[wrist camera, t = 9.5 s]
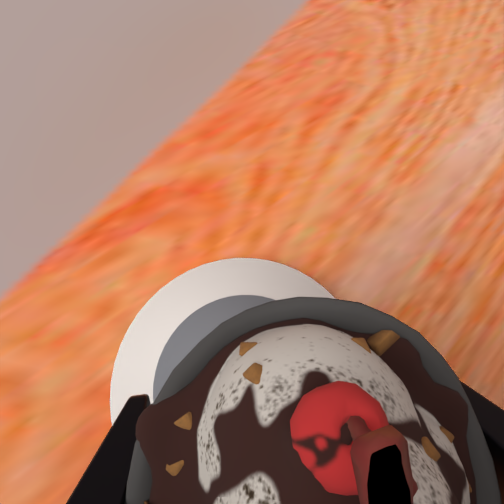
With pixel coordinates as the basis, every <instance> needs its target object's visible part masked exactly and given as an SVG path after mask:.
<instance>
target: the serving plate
mask: <svg viewBox="0 0 504 504" xmlns="http://www.w3.org/2000/svg"><path fill="white" fill-rule="evenodd" d="M293 297H323V298H332V299H335V298H334V297H333V296H332V295H331V294H330V293H329V292H328V291H327V290H326V289H325V288H324V287H323V286H321V285H320V284H319V283H317V282H316V281H315V280H313V279H312V278H310V277H309V276H307V275H305V274H303V273H302V272H300V271H298V270H296V269H293V268H291V267H288V266H286V265H284V264H280V263H277V262H273V261H269V260H263V259H256V258H232V259H224V260H219V261H215V262H211V263H207V264H204V265H201V266H199V267H196V268H194V269H191V270H189V271H187V272H185V273H184V274H182V275H180V276H178V277H176V278H175V279H173V280H172V281H171V282H169V283H168V284H167V285H165V286H164V287H162V288H161V289H160V290H159V291H158V292H157V293H156V294H155V295H154V296H153V297H152V298H151V299H150V300H149V301H148V302H147V303H146V304H145V305H144V307H143V308H142V309H141V310H140V312H139V313H138V314H137V316H136V317H135V319H134V320H133V322H132V324H131V325H130V327H129V328H128V330H127V332H126V334H125V337H124V339H123V341H122V343H121V345H120V348H119V351H118V354H117V357H116V360H115V364H114V369H113V374H112V379H111V390H110V411H111V422H112V425H113V424H114V422H115V420H116V419H117V417H118V415H119V414H120V412H121V410H122V408H123V407H124V405H125V403H126V402H127V400H128V399H129V397H131V396H133V395H141V394H147V395H148V396H149V398H150V403H151V404H152V403H154V401H155V399H156V397H157V396H158V394H159V392H160V391H161V389H162V387H163V386H164V384H165V382H166V381H167V379H168V377H169V376H170V374H171V372H172V371H173V369H174V368H175V367H176V366H177V365H178V364H179V363H180V362H181V361H182V360H183V359H184V358H185V357H186V355H187V354H188V353H189V352H190V351H191V350H192V349H193V348H194V347H195V346H196V345H197V344H198V343H199V342H200V341H201V340H202V339H203V338H205V337H206V336H207V335H208V334H209V333H210V332H212V331H213V330H214V329H215V328H216V327H217V326H219V325H220V324H221V323H222V322H224V321H226V320H228V319H230V318H232V317H233V316H235V315H237V314H239V313H241V312H243V311H245V310H246V309H249V308H252V307H255V306H258V305H261V304H264V303H267V302H270V301H275V300H281V299H287V298H293Z"/></svg>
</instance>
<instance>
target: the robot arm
mask: <svg viewBox="0 0 504 504" xmlns="http://www.w3.org/2000/svg"><path fill="white" fill-rule="evenodd" d="M459 381H460V380H459ZM460 383H461V385H462V387H463V389H464V391H465V393H466V395H467V397H468V399H469V401H470V403H471V405H472V408H473V410H474V412H475V415H476V417H477V419H478V422H479V424H480V426H481V429H482V431H483V434H484V437H485V439H486V442H487V445H488V447H489V450H490V453H491V455H492V458H493V461H494V466H495V470H496V475H497V479H498V484H499V488H500V493H501V501H502V504H504V410H502V409H501V408H500V407H498V406H497V405H495V404H494V403H492V402H491V401H489V400H488V399H486V398H485V397H483V396H482V395H480V394H479V393H477V392H476V391H474V390H473V389H471V388H470V387H469V386H467V385H466V384H464V383H463V382H461V381H460ZM149 405H151V403H150V398H149V396H148V395H147V394H141V395H133V396H131V397H129V399H128V400H127V402H126V403H125V405H124V407H123V408H122V410H121V412H120V414H119V415H118V417H117V419H116V420H115V422H114V424H113V425H112V427H111V429H110V430H109V432H108V434H107V435H106V437H105V439H104V440H103V442H102V444H101V446H100V447H99V449H98V451H97V452H96V454H95V456H94V457H93V459H92V461H91V462H90V464H89V466H88V467H87V469H86V471H85V472H84V474H83V476H82V478H81V479H80V481H79V483H78V484H77V486H76V488H75V489H74V491H73V493H72V494H71V496H70V498H69V499H68V501H67V503H66V504H126V488H127V480H128V475H129V470H130V465H131V460H132V455H133V450H134V445H135V442H136V440H137V439H136V435H135V433H136V424H137V421H138V418H139V416H140V415H141V413H142V412H143V410H144V409H146V408H147V407H148V406H149Z"/></svg>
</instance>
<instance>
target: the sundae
mask: <svg viewBox="0 0 504 504" xmlns="http://www.w3.org/2000/svg"><path fill="white" fill-rule="evenodd" d="M135 435H136V439H137V440H136V442H135V445H134V450H133V455H132V460H131V465H130V470H129V475H128V480H127V488H126V504H502V501H501V493H500V488H499V484H498V479H497V475H496V470H495V466H494V461H493V458H492V455H491V453H490V450H489V447H488V445H487V442H486V439H485V437H484V434H483V431H482V429H481V426H480V424H479V422H478V419H477V417H476V415H475V412H474V410H473V408H472V405H471V403H470V401H469V399H468V397H467V395H466V393H465V391H464V389H463V387H462V385H461V383H460V381H459V379H458V377H457V376H456V374H455V373H454V371H453V370H452V369H451V367H450V366H449V365H448V363H447V362H446V361H445V359H444V358H443V357H442V355H441V354H440V353H439V352H438V351H437V350H436V349H435V348H434V347H433V346H432V345H431V344H430V343H429V342H428V341H427V340H426V339H425V338H424V337H423V336H422V335H421V334H420V333H419V332H417V331H416V330H414V329H412V328H411V327H409V326H407V325H406V324H404V323H402V322H401V321H399V320H397V319H396V318H394V317H392V316H391V315H388V314H386V313H383V312H381V311H379V310H376V309H374V308H371V307H369V306H367V305H364V304H362V303H358V302H352V301H345V300H339V299H332V298H323V297H293V298H287V299H281V300H275V301H270V302H267V303H264V304H261V305H258V306H255V307H252V308H249V309H246V310H245V311H243V312H241V313H239V314H237V315H235V316H233V317H232V318H230V319H228V320H226V321H224V322H222V323H221V324H220V325H219V326H217V327H216V328H215V329H214V330H213V331H212V332H210V333H209V334H208V335H207V336H206V337H205V338H203V339H202V340H201V341H200V342H199V343H198V344H197V345H196V346H195V347H194V348H193V349H192V350H191V351H190V352H189V353H188V354H187V355H186V357H185V358H184V359H183V360H182V361H181V362H180V363H179V364H178V365H177V366H176V367H175V368H174V369H173V371H172V372H171V374H170V376H169V377H168V379H167V381H166V382H165V384H164V386H163V387H162V389H161V391H160V392H159V394H158V396H157V397H156V399H155V401H154V403H152V404H151V405H149V406H148V407H147V408H146V409H144V410H143V412H142V413H141V415H140V416H139V418H138V421H137V424H136V433H135Z"/></svg>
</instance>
